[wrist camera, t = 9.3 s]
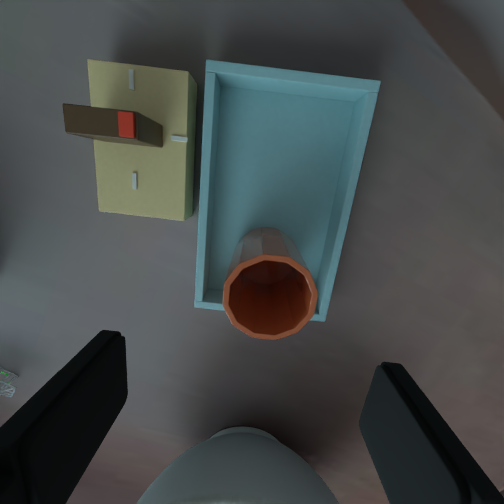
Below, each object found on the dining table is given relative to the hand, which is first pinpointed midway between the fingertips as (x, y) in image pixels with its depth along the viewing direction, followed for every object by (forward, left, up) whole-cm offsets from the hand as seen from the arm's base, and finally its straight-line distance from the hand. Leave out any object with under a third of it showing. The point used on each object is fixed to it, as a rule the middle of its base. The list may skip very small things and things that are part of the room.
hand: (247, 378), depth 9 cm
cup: (+1, +1, -18) cm, 18 cm away
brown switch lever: (-9, -11, -15) cm, 21 cm away
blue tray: (-4, +1, -18) cm, 19 cm away
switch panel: (-8, -11, -18) cm, 23 cm away
